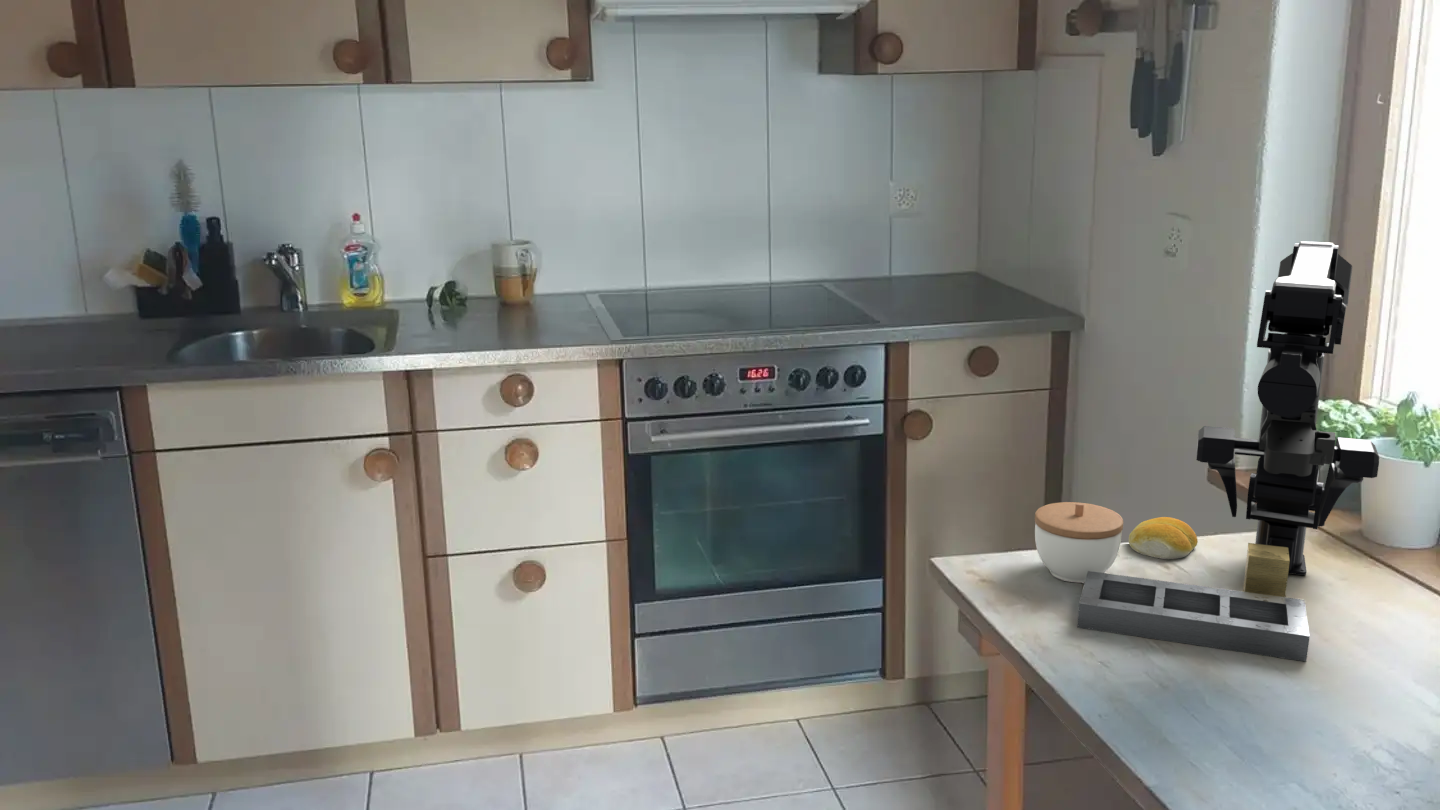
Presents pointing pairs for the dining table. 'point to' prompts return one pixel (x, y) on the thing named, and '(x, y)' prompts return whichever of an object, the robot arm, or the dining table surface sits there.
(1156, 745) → the dining table surface
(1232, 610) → the grey slotted tray
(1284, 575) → the brass block
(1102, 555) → the lidded jar
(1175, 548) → the bread roll
